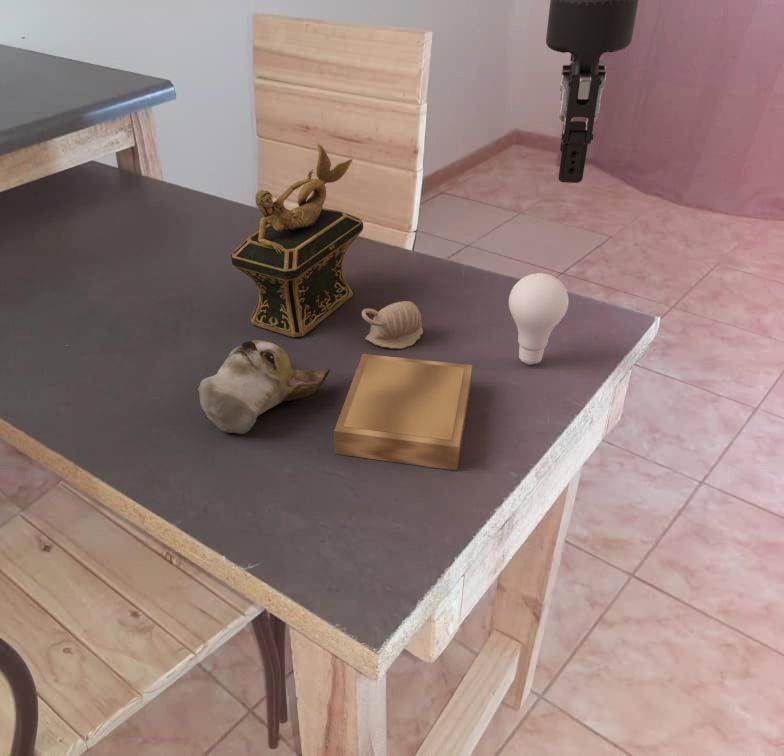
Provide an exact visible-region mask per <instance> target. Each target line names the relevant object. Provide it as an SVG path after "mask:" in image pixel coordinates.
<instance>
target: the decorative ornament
mask: <svg viewBox="0 0 784 756" xmlns="http://www.w3.org/2000/svg"><path fill="white" fill-rule="evenodd" d="M367 314H370V315H373V318H372V319H371V318H370V317H369V316H368V315H367ZM361 317H362V318H363V320H364V321H365V322H366V323H368V324H370V330H369V333H368V335H366V336H365V338H364V340H366V341H368V342H370V343H372V344H373V345H375V346H378V347H380V348H387V349H391V350H393V349H397V350H404V349H405V348H409V347H412V346H413V345H415V343H416V342H417V341H418V340H420V339H421V336H422V335H423V334H424V329H423V327H422V325H423V323H422V314H421V312H420V311H419V307H418V306H417V305H416V304H415V303H414V302H412V301H409V300H408V301H406V300H404V301H398V302H394V303H390V304H388V305H386V306H384V307H382V308H381V309H380V310H379V311H378V310H377V309H374V308H369V307H368V308H363V310H361Z"/></svg>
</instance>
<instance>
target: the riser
mask: <svg viewBox="0 0 784 756" xmlns="http://www.w3.org/2000/svg"><path fill="white" fill-rule="evenodd" d="M472 377H473V364H464V363H458V362H457V363H455V362H448V361H447V362H445V361H437V360H427V359H419V358H418V359H415V358H408V357H397V356H387V355H380V354H379V355H378V354H368V353H362V354H361V357H360V360H359V362H358V365H357V368H356V370H355V373H354V376H353V379H352V381H351V383H350V386H349V389H348V392H347V395H346V397H345V400H344V402H343V405H342V408H341V410H340V413H339V416H338V418H337V422H336V424H335V427H334V430H333V444H334V445H333V447H334V455H340V456H347V457H348V456H349V457H354V458H362V459H369V460H375V461H376V460H377V461H385V462H391V463H397V464H405V465H413V466H420V467H427V468H433V469H434V468H435V469H441V470H449V471H458V470H459V464H460V463H459V462H460V457H461V450H462V444H463V437H464V432H465V425H466V418H467V413H468V406H469V401H470V400H469V399H470V394H471V387H472Z"/></svg>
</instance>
